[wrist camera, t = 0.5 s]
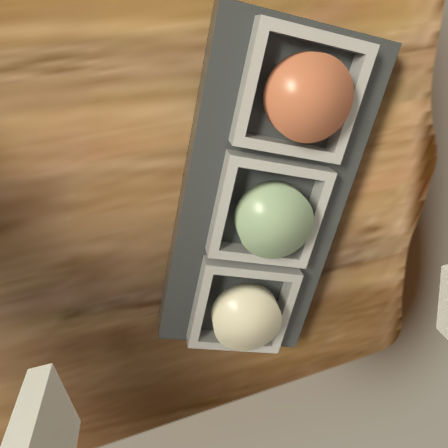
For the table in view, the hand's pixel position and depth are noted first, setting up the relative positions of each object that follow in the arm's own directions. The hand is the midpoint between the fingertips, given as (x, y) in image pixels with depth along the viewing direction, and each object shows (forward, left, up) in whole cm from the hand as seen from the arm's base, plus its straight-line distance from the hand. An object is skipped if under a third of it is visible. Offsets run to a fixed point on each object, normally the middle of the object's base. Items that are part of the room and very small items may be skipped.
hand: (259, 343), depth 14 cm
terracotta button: (+6, +7, -19) cm, 21 cm away
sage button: (+6, -3, -19) cm, 20 cm away
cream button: (+6, -12, -19) cm, 23 cm away
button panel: (+6, -3, -24) cm, 24 cm away
